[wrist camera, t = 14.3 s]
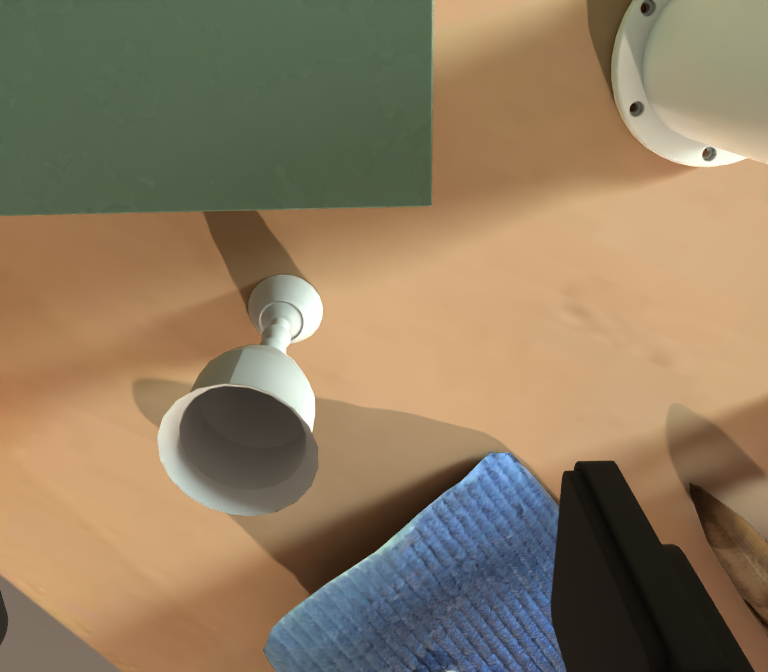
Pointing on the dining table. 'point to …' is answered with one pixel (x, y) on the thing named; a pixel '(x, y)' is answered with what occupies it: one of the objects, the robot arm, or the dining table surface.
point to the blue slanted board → (441, 589)
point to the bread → (736, 551)
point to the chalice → (250, 413)
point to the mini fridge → (214, 105)
